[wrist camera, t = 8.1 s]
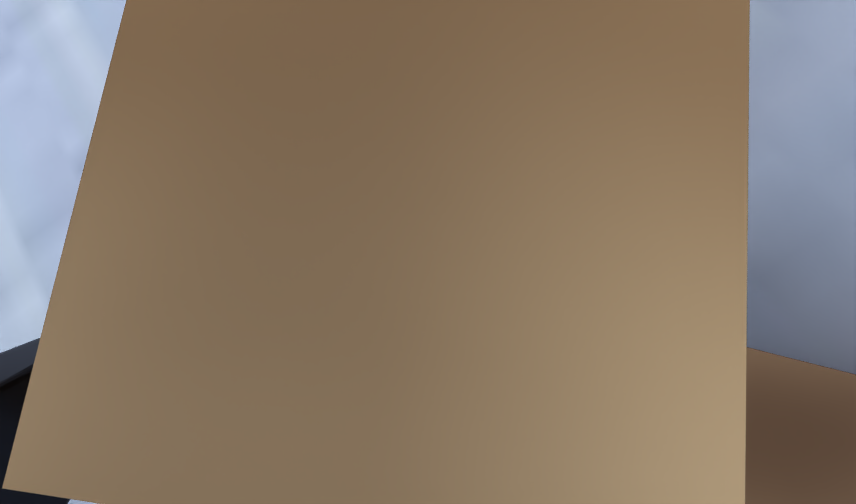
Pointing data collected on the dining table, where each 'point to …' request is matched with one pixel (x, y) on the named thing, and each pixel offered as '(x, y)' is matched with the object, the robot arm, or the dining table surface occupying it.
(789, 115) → the dining table surface
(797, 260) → the dining table surface
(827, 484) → the brown wooden bar
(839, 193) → the dining table surface
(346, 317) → the oak post
